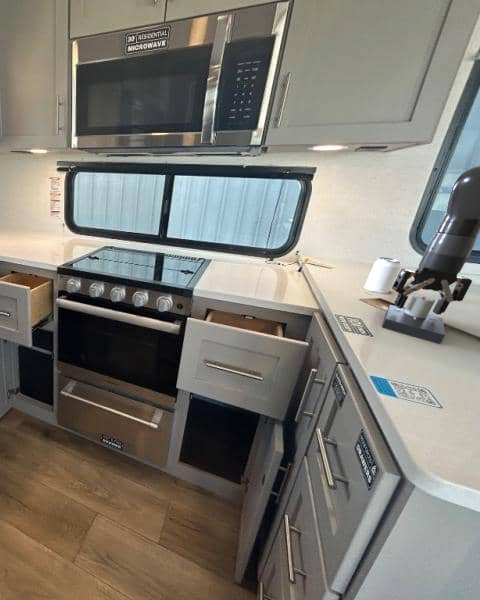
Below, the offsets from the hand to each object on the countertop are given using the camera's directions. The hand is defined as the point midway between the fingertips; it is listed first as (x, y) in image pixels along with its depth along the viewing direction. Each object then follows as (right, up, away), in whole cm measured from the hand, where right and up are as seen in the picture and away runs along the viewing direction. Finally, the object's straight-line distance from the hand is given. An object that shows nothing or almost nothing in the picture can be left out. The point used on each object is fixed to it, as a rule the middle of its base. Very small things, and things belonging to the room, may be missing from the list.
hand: (417, 310), depth 89 cm
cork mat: (+5, +1, +12) cm, 13 cm away
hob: (-3, -4, -1) cm, 5 cm away
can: (+9, +5, +23) cm, 25 cm away
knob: (0, -1, 0) cm, 1 cm away
